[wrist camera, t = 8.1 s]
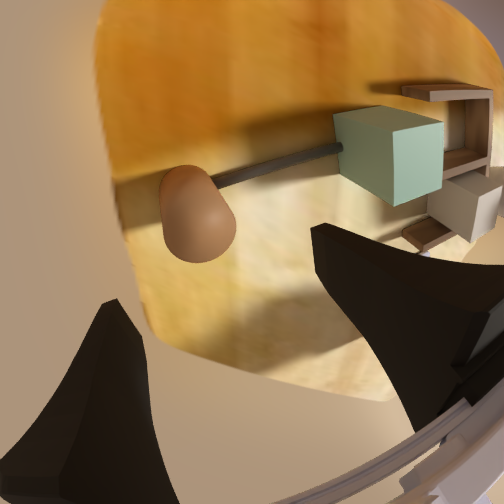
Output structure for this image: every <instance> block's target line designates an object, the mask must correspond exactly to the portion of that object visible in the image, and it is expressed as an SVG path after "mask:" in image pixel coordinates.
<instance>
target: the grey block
mask: <svg viewBox="0 0 504 504" xmlns="http://www.w3.org/2000/svg"><path fill="white" fill-rule="evenodd" d="M502 186H503V185H501V184H499V183H497V182H495V181H494V180H492V179H490V178H488V177H486V176H484V175H482V174H480V173H478V172H476V171H474V170H470V171H467V172H465V173H462V174H459V175H456V176H453V177H451V178H448V179H445V180H442V188H441V189H438V190H436V191H433V192H431V193H428V201H427V212H426V213H427V214H428V215H430V216H431V217H433V218H434V219H436V220H437V221H439V222H440V223H442V224H443V225H445V226H446V227H448V228H449V229H451V230H452V231H454V232H455V233H456V234H458V235H459V236H461V237H462V238H464V239H465V240H466V241H468V242H469V243H471V242H473V241H474V240H476V239H478V238H479V237H481V236H482V235H484V234H486V233H487V232H489V231H490V230H492V229H493V228H494V227H495V223H496V218H497V214H498V209H499V204H500V198H501V193H502Z"/></svg>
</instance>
